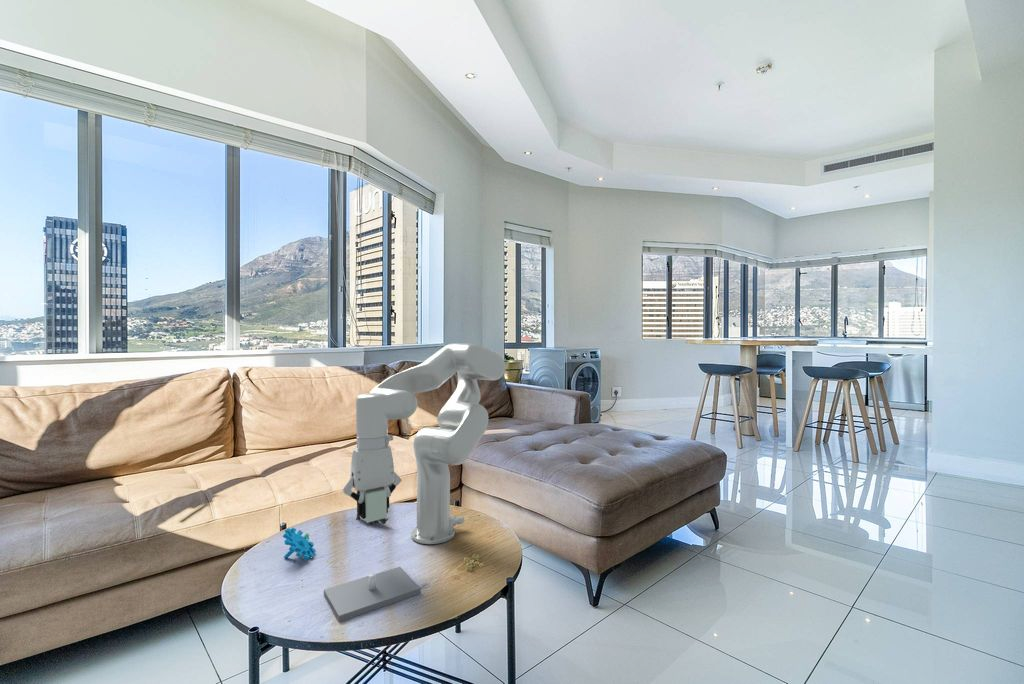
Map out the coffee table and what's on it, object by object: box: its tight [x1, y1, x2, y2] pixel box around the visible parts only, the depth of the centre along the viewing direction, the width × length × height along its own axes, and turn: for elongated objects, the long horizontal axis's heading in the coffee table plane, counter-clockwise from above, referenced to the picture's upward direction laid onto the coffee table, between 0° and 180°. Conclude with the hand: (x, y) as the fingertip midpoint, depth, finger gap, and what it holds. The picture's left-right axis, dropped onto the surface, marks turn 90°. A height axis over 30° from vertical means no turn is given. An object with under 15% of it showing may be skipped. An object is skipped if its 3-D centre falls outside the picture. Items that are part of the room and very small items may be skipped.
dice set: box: [463, 553, 484, 572], centre depth 118 cm, size 5×5×2 cm
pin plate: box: [323, 566, 422, 622], centre depth 104 cm, size 18×12×4 cm, turn 126°
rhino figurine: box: [355, 513, 390, 526], centre depth 144 cm, size 4×14×6 cm, turn 56°
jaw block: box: [363, 487, 388, 524], centre depth 117 cm, size 5×5×7 cm
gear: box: [282, 527, 316, 561], centre depth 122 cm, size 11×6×10 cm
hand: (373, 513), depth 117 cm, fingers closed on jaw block, 5 cm apart
